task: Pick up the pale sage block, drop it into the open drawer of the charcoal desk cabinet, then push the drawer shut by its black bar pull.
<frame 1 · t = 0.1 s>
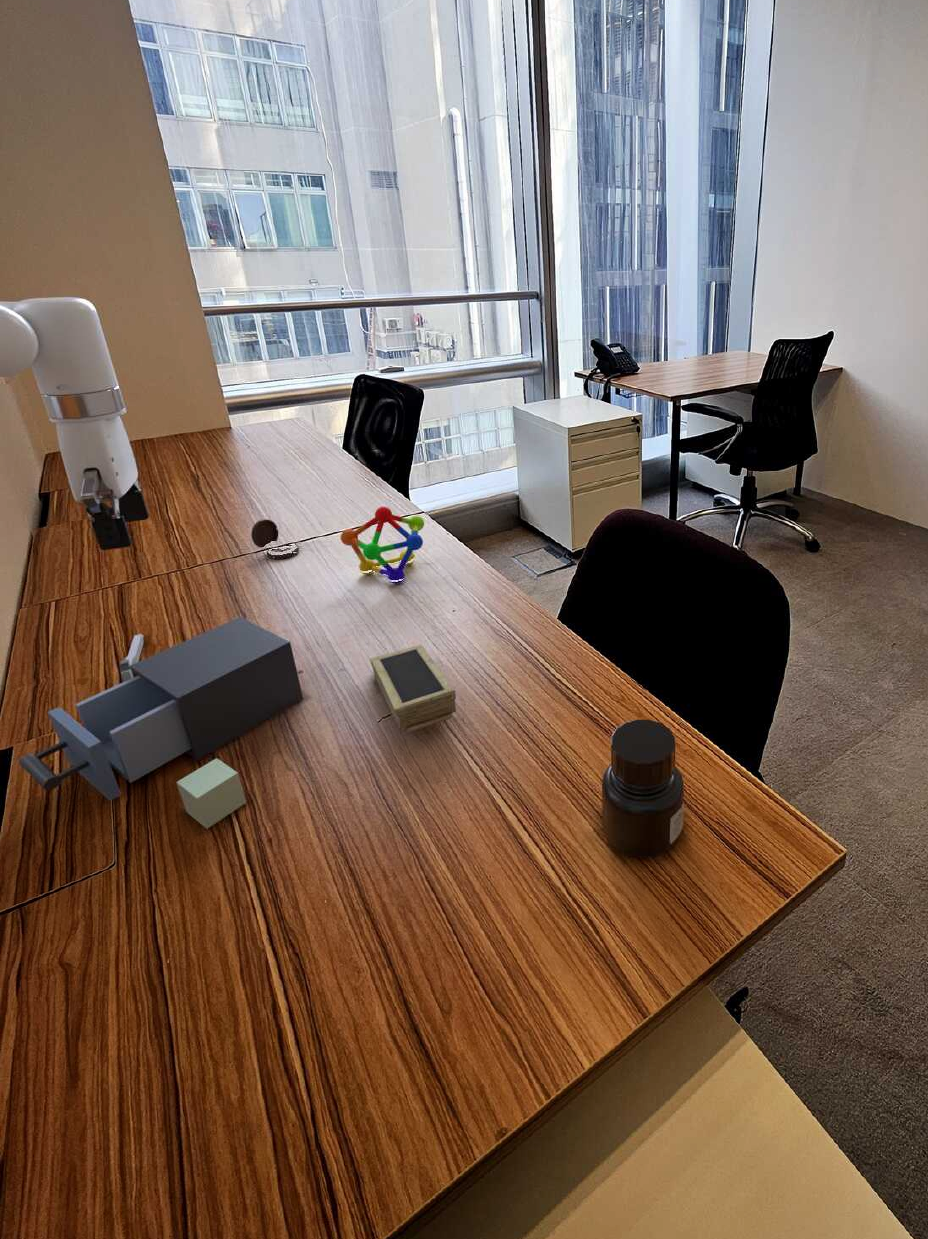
hand: (126, 533, 86), 25 cm above the table, tool pointing down, fingers open, 9 cm apart
compass: (284, 552, 140), on the table
drawer: (122, 733, 80), point 5 cm above the table, slide at 8.0 cm
educational toy: (396, 577, 129), on the table
block: (216, 807, 76), on the table
box: (411, 697, 94), on the table
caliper: (138, 670, 101), on the table
ink bottle: (642, 827, 73), on the table
cabinet: (228, 711, 91), on the table
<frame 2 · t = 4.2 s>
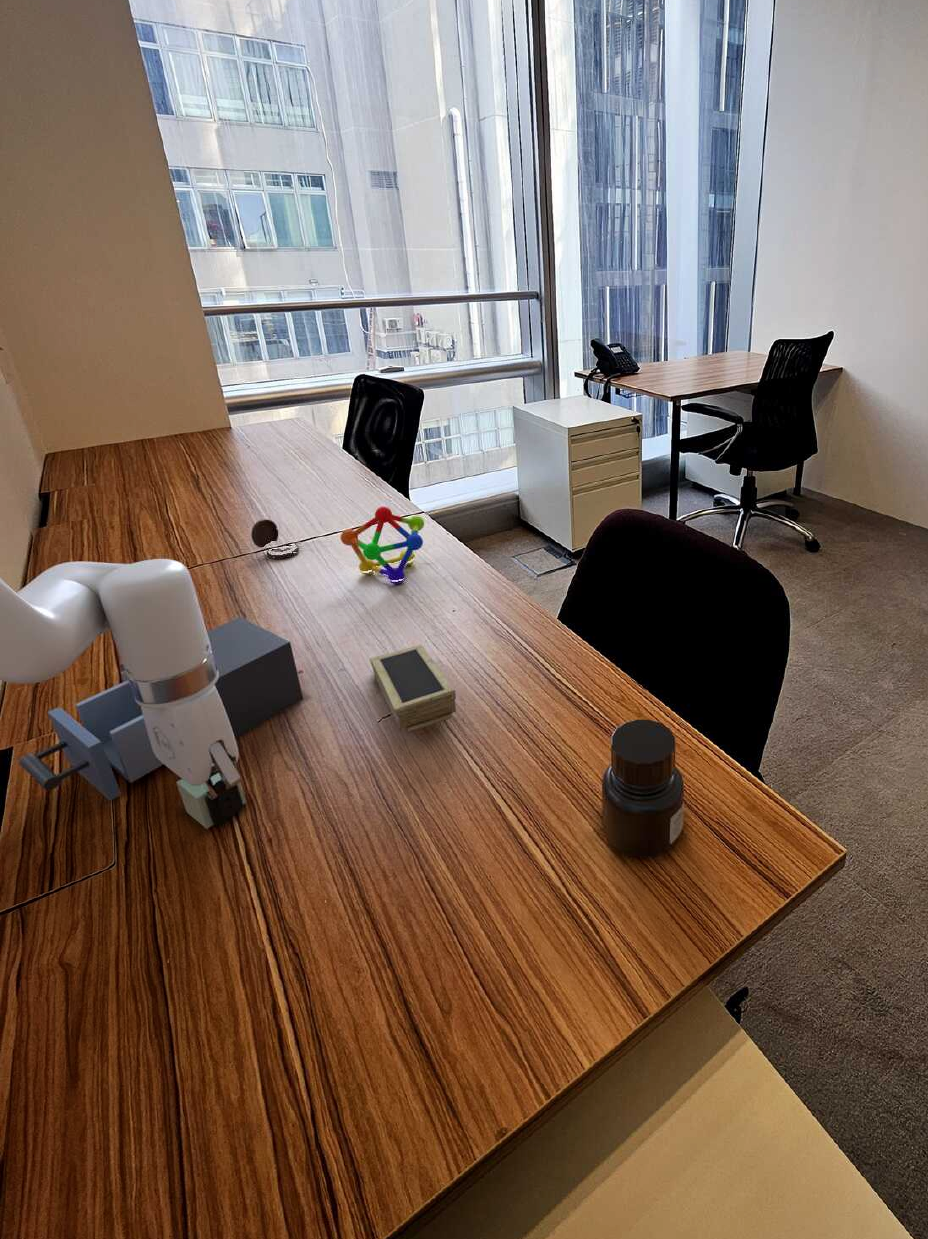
hand: (216, 805, 76), 0 cm above the table, tool pointing down, fingers closed on block, 4 cm apart
block: (216, 807, 76), on the table, touching gripper
everything else where it was.
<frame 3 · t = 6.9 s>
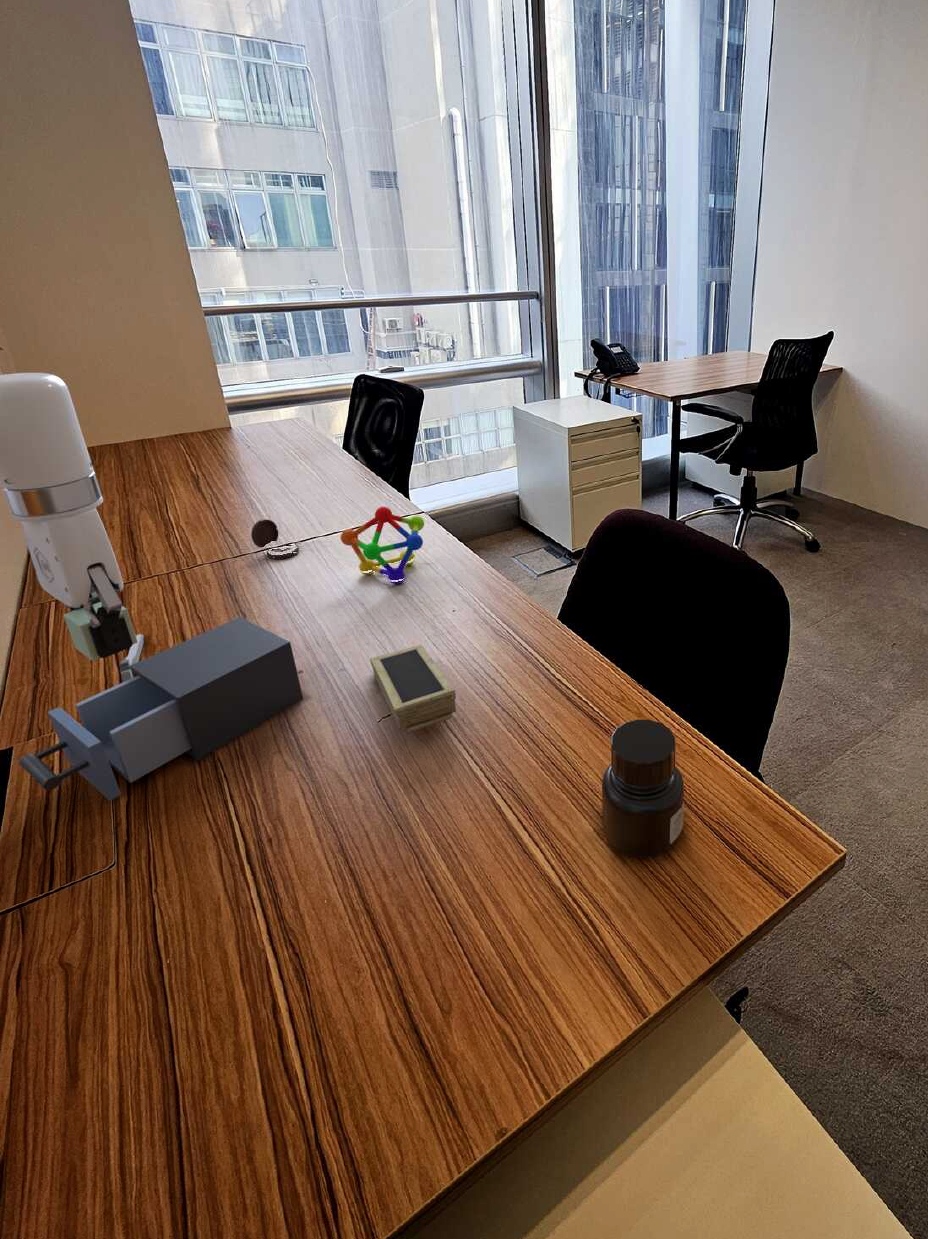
hand: (105, 643, 75), 18 cm above the table, tool pointing down, fingers closed on block, 4 cm apart
block: (107, 645, 75), point 18 cm above the table, touching gripper
everything else where it was.
when the fingers open (8 cm above the table, at t = 9.7 s): block drops 6 cm, resting on drawer.
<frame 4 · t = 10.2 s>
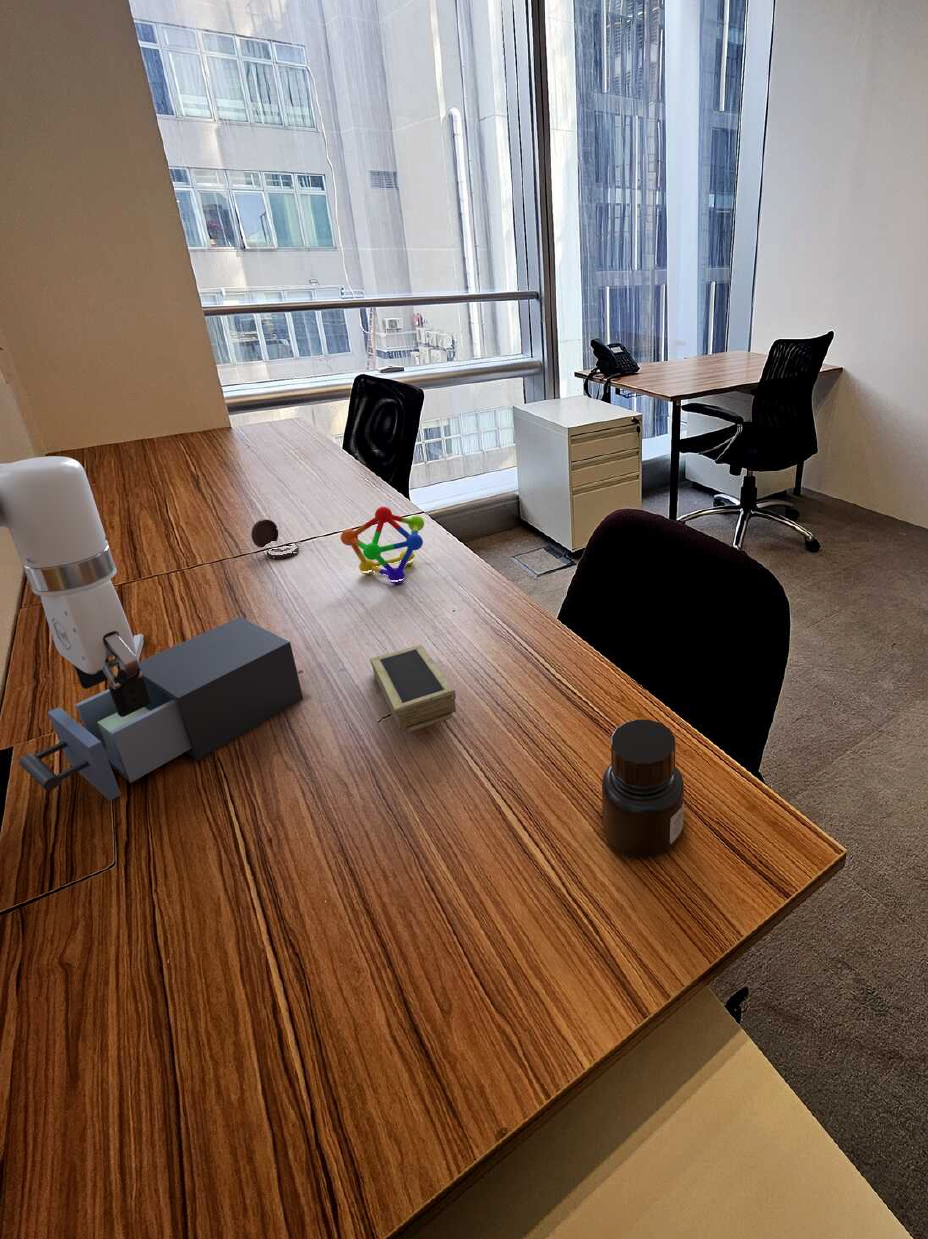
hand: (116, 695, 79), 10 cm above the table, tool pointing down, fingers open, 9 cm apart
drawer: (122, 733, 80), point 5 cm above the table, slide at 8.0 cm, touching block
block: (136, 747, 82), point 2 cm above the table, touching drawer
everything else where it was.
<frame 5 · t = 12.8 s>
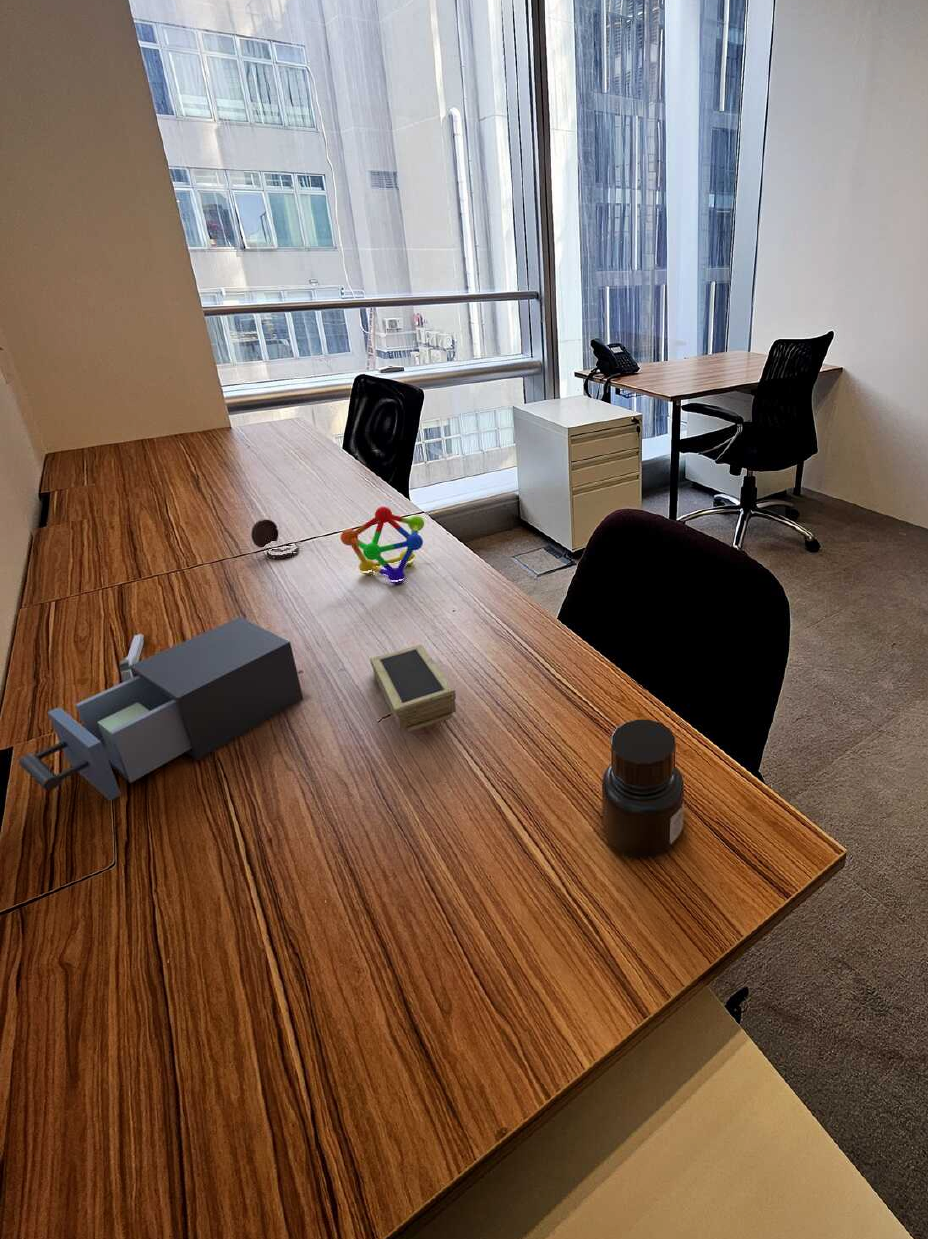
nothing on the table moved.
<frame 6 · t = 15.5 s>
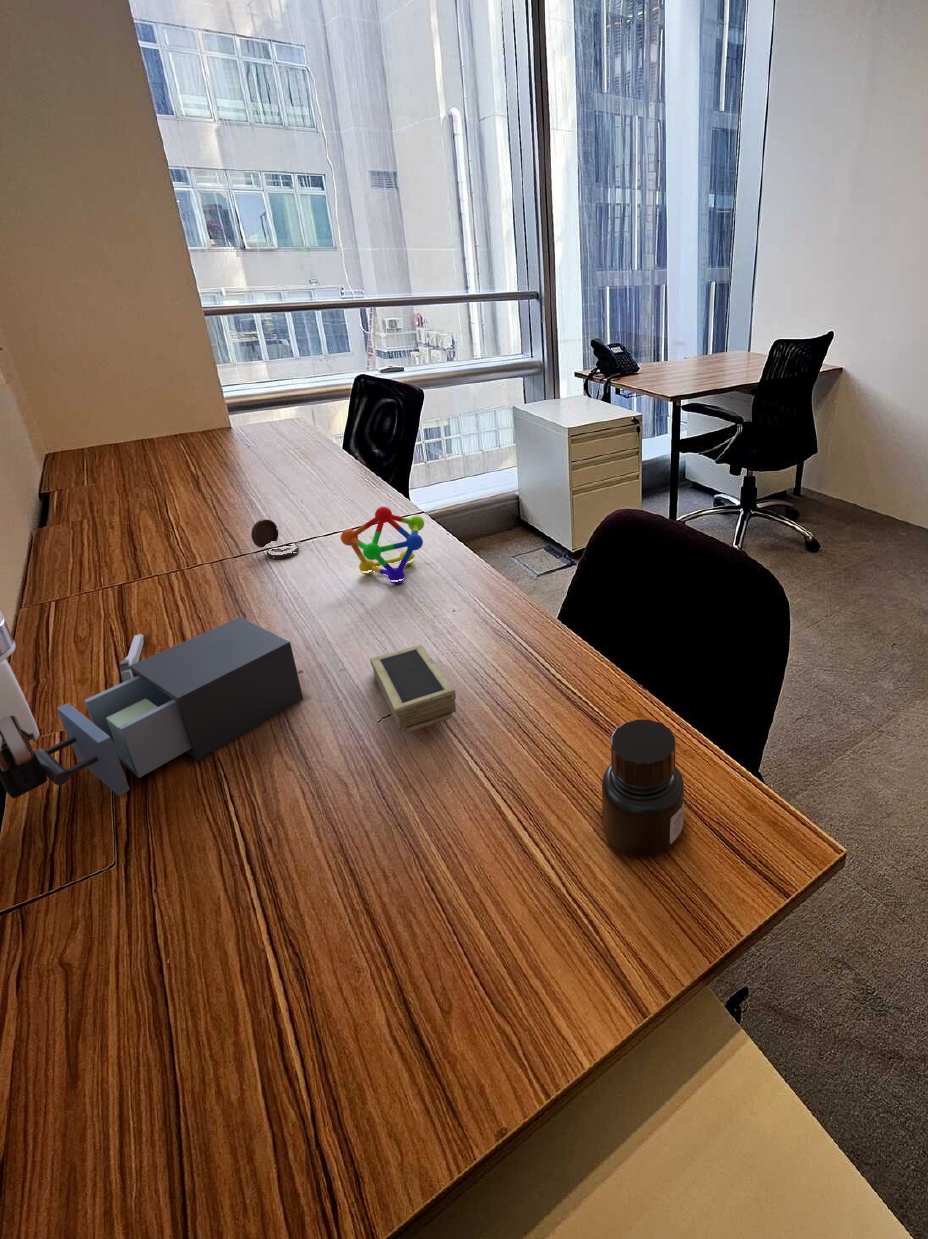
hand: (27, 787, 73), 4 cm above the table, tool pointing down, fingers closed
drawer: (130, 729, 81), point 5 cm above the table, slide at 7.1 cm, touching block, gripper
everything else where it was.
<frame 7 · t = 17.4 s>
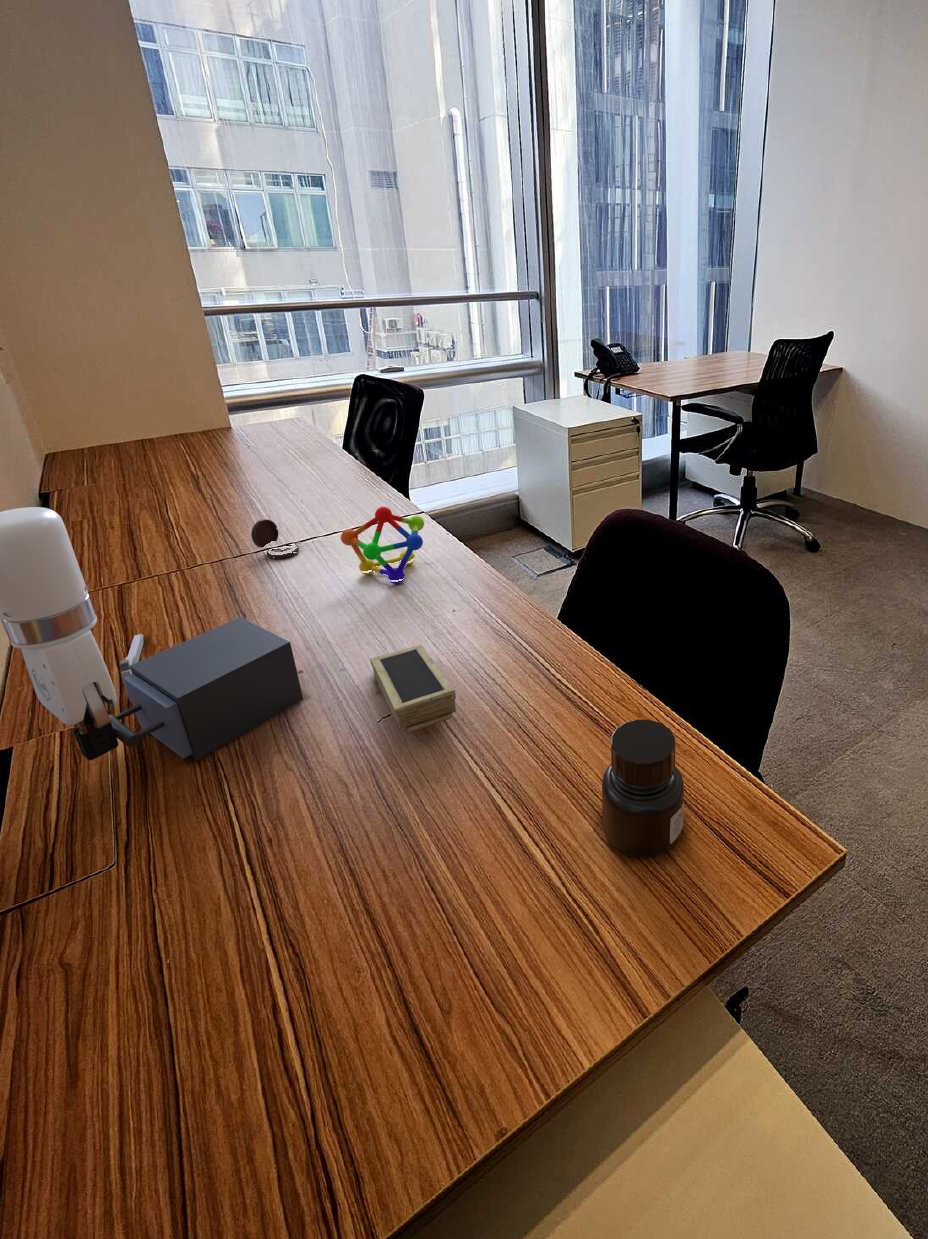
hand: (101, 751, 79), 4 cm above the table, tool pointing down, fingers closed
drawer: (190, 698, 87), point 5 cm above the table, slide at 0.0 cm, touching block, cabinet, gripper
block: (202, 711, 88), point 2 cm above the table, touching drawer
everything else where it was.
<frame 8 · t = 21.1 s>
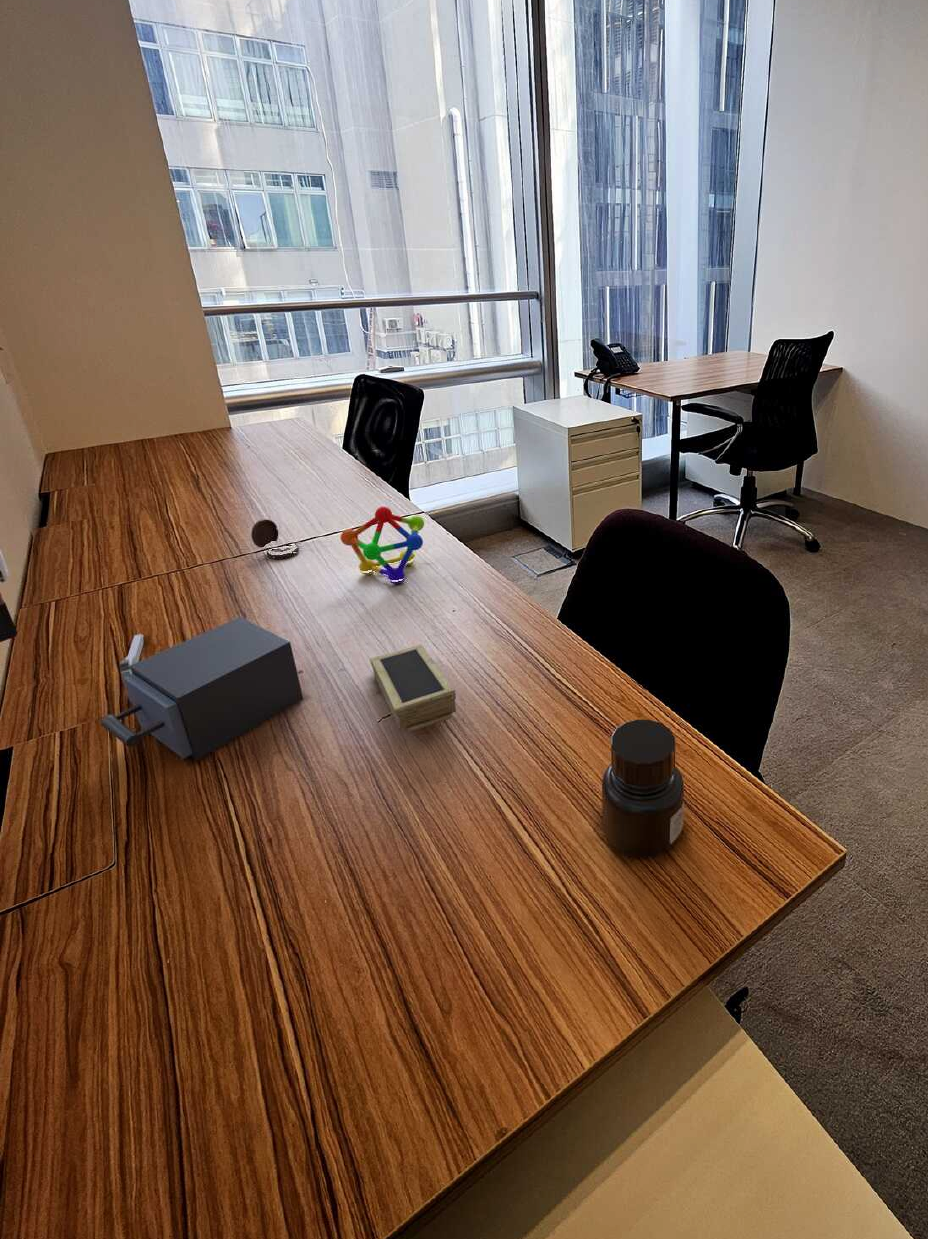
drawer: (190, 698, 87), point 5 cm above the table, slide at 0.0 cm, touching block, cabinet
everything else where it was.
at the end: block inside the target area in the cabinet (3.0 cm from its centre), point 2.0 cm above the cabinet's base; drawer slide at 0.0 cm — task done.
